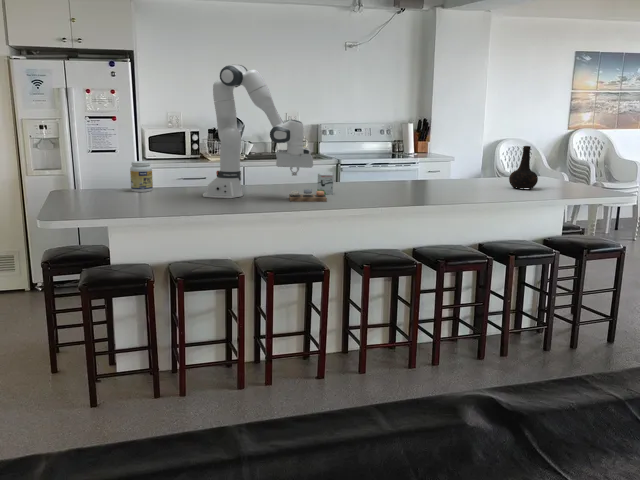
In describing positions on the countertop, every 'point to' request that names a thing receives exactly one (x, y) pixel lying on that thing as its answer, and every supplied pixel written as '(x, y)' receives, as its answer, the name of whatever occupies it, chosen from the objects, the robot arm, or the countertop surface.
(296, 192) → the cream button
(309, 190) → the slate button
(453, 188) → the countertop surface
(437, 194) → the countertop surface
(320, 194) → the terracotta button
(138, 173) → the supplement tub
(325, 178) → the ink box
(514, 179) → the glass bottle
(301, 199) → the button panel
